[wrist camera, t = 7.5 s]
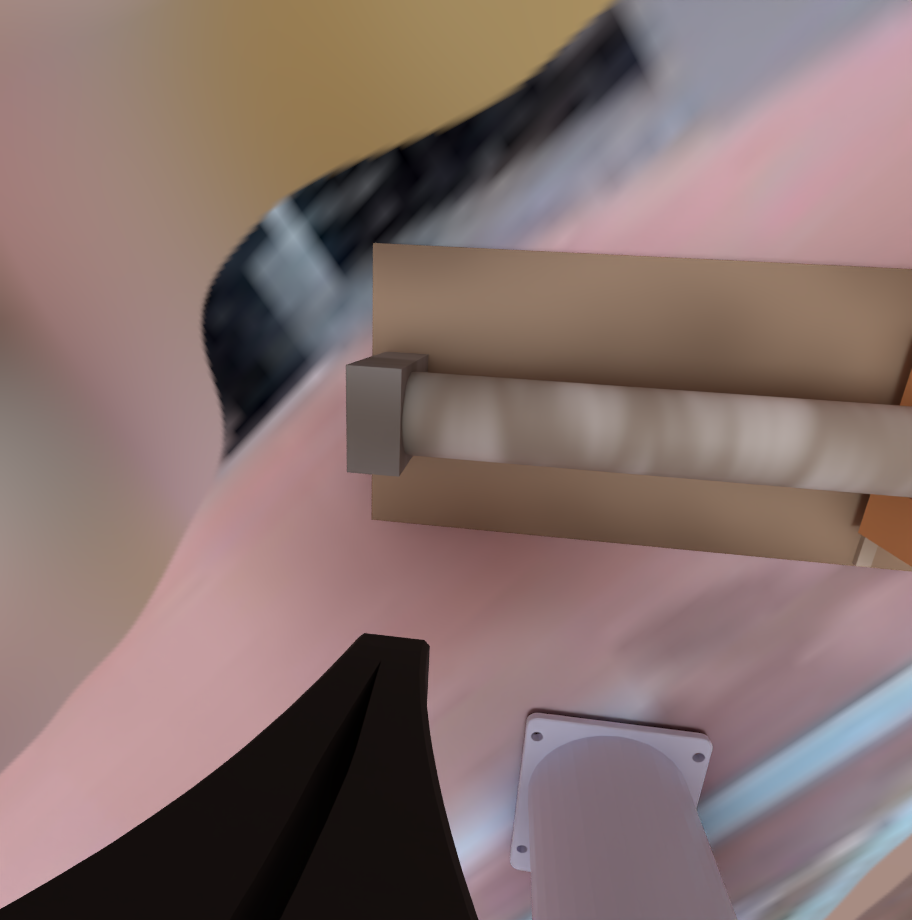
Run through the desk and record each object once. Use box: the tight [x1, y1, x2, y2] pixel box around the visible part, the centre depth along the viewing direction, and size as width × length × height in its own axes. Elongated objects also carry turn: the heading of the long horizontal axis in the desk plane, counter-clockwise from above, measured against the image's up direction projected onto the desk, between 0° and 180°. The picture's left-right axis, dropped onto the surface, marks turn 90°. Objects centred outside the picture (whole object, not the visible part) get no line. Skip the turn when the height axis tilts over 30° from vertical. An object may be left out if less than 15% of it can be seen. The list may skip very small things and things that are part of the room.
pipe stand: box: [346, 243, 912, 571], centre depth 15 cm, size 10×26×6 cm, turn 87°
